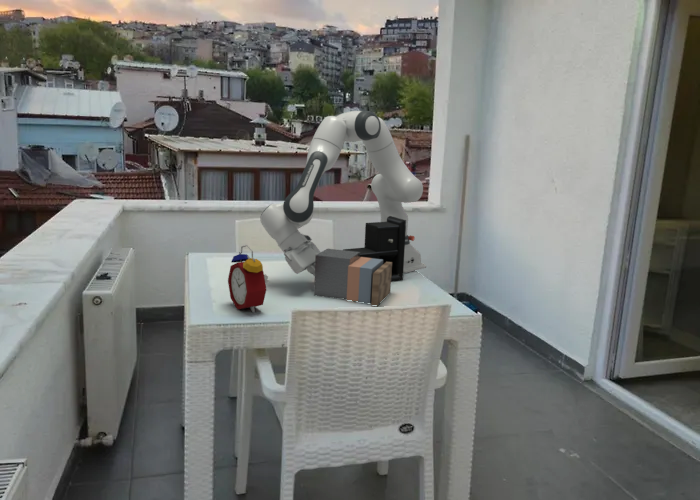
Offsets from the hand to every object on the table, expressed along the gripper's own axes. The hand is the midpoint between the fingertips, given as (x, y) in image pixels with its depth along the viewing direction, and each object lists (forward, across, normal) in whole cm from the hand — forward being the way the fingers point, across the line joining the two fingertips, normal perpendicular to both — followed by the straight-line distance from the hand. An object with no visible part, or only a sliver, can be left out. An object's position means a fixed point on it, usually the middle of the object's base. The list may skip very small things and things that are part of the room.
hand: (319, 276), depth 197 cm
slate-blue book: (+17, 0, -10) cm, 19 cm away
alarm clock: (-5, -27, +13) cm, 30 cm away
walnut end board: (+20, 0, -12) cm, 23 cm away
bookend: (+13, +23, -5) cm, 26 cm away
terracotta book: (+14, 0, -7) cm, 16 cm away
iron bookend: (+8, 0, -1) cm, 8 cm away
